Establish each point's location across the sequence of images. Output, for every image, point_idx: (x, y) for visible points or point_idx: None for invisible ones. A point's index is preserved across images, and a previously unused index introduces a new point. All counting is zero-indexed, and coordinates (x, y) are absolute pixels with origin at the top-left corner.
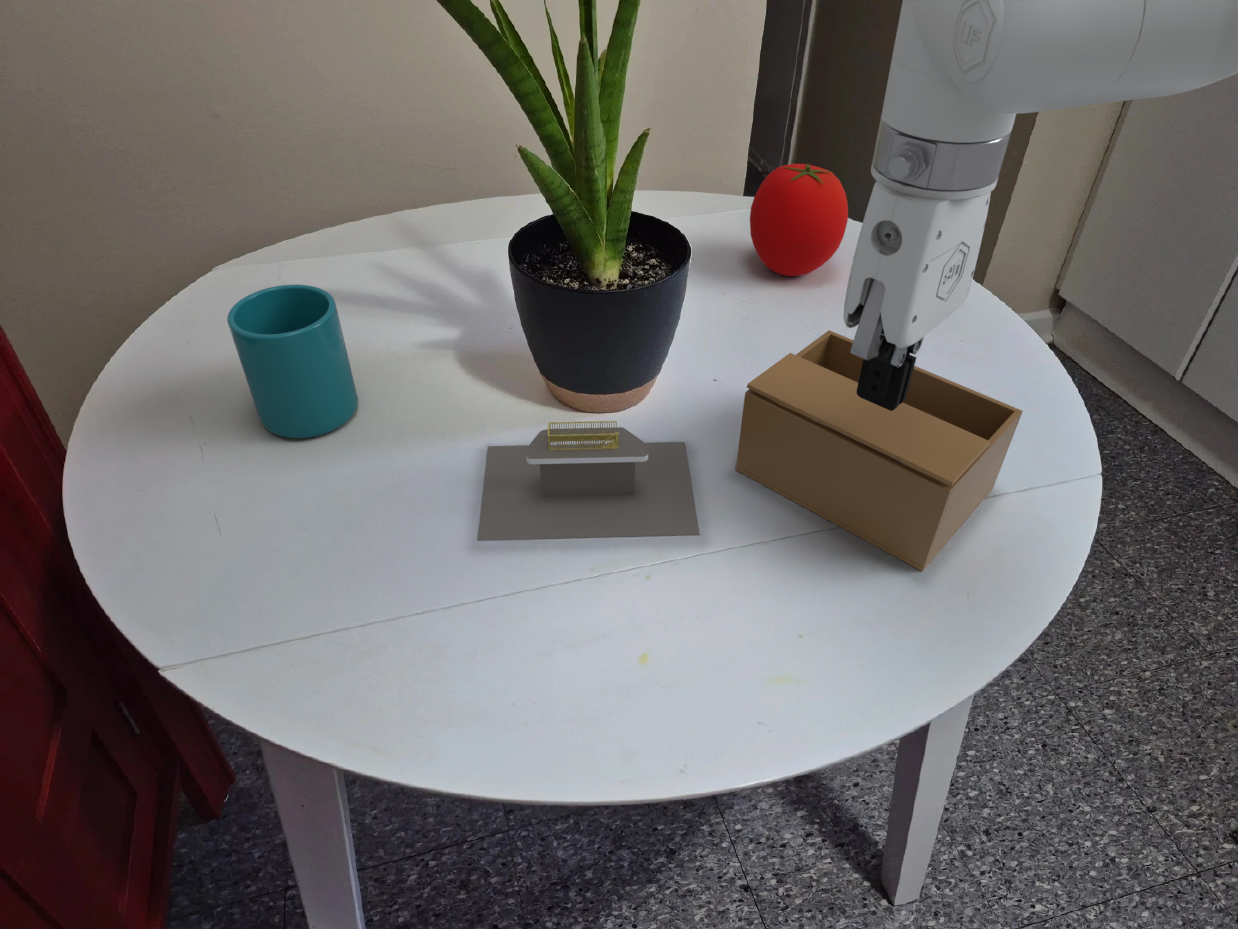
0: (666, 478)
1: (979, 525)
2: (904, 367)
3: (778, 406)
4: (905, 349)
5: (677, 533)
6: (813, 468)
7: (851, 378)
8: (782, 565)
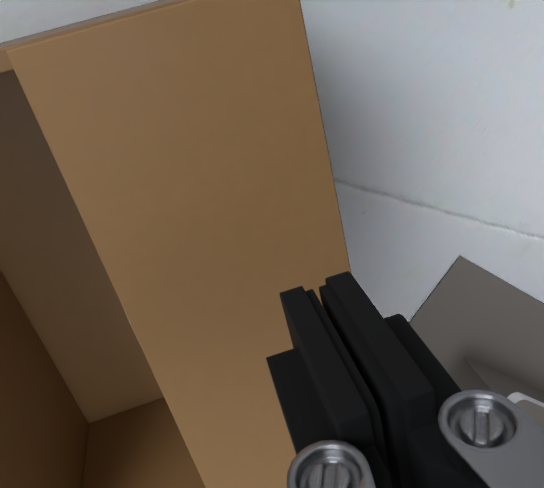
0: None
1: (7, 6)
2: (430, 386)
3: None
4: (493, 468)
5: (479, 271)
6: None
7: (50, 455)
8: (417, 142)
